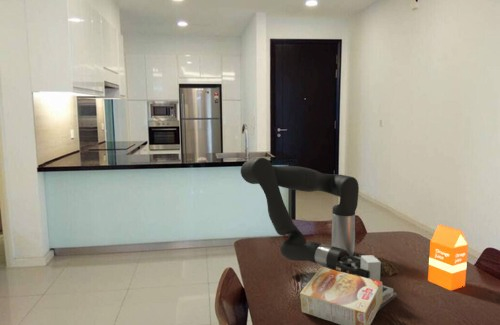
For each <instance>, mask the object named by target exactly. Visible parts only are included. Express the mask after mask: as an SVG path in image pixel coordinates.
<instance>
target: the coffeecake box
mask: <svg viewBox="0 0 500 325" xmlns="http://www.w3.org/2000/svg"><path fill="white" fill-rule="evenodd" d="M348 273H349V272H347V273H344V272H340V271H336V270H332V269H329V268H326V267H323V266H320V267H319V268H318V270H317V271H316V272H315V274H314V275H313V276H312V277H311V279H310V280H309V281H308V282H307V284H306V285H305V286H304V287H303V289H302V290H301V291H300V293H299V298H300V308H301V313H304V314H307V315H310V316H313V317H317V318H318V319H322V320H326V321H328V322H331V323H335V324H336V325H337V324H338V325H371V324H372V323H373V320H374V318H376V314H377V313H378V311H379V310H378V309H379V307H380V305H381V303H382V301H383V299H382V290H383V281H381V280H380V281H376V280H372V279H368V278H364V277H360V276H359V275H357V276H356V275H352V274H348Z"/></svg>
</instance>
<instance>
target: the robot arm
mask: <svg viewBox="0 0 500 325" xmlns="http://www.w3.org/2000/svg"><path fill="white" fill-rule="evenodd" d="M240 175H241V177H242V179H243V181H245V182H247V183H249V184H251V185H259V186H260V188H261V189H262V191H263V192H264V196H265V197H266V198H265V199H266V205H267V212H268V217H269V219H270V221H271V224H272V226H273V228H274V230H275V231H276V233H277V235H279V236H285V235H288V238H286V239H285V240H284V241H283V242H282V243H281V244H280V247H279V251H280V253H281V255H282V256H283V257H284V258H286V259H288V260H290V261H299V262H301V261H302V262H311V263H314V264H317V265H318V266H320V267H324V268H328V269H332V270H336V271H340V272H344V273H348V274H352V275H356V276H362V277H365V278H369V277H370V271H368V270H365V269H361V268H360V266H361V256H364V255H365V254H361V253H355V249H356V248H355V246H356V244H355V243H356V241H355V240H356V230H355V228H356V226H355V225H356V224H355V222H356V210H357V208H358V201H359V191H360V190H359V189H360V188H359V187H360V186H359V181H358V180H357V179H356V177H353V176H350V175H346V174H331V173H330V174H329V173H323V172H320V171H318V170H315V169H312V168H308V167H303V166H295V165H294V166H293V165H282V166H281V165H272V162H270V160H269V159H267V158H266V157H256V158H251V159H248V160H247V161H245V162H244V163H243V164H242V166H241V168H240ZM280 188H284V189H289V190H294V191H300V192H306V193H307V192H308V193H309V192H310V193H311V192H324V193H327V194H330V195H333V196H337V197H339V204H335V205H334V206H332V211H331V212H332V215H331V216H332V218H331V220H332V221H331V244H323V243H319V242H315V241H308V242H307V239H306V237H305V235H304V234H303V233H302V232H301V231H300V229H299V228H298V227H297V225H296V224H295V223H294V222H293V219H292V218H291V216H290V213H289V212H288V209H287V207H286V204H285V202H284V199H283V196H282V193H281V190H280ZM354 254H355V255H354ZM382 269H383V264H382V263H381V268H380V270H382Z"/></svg>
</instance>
